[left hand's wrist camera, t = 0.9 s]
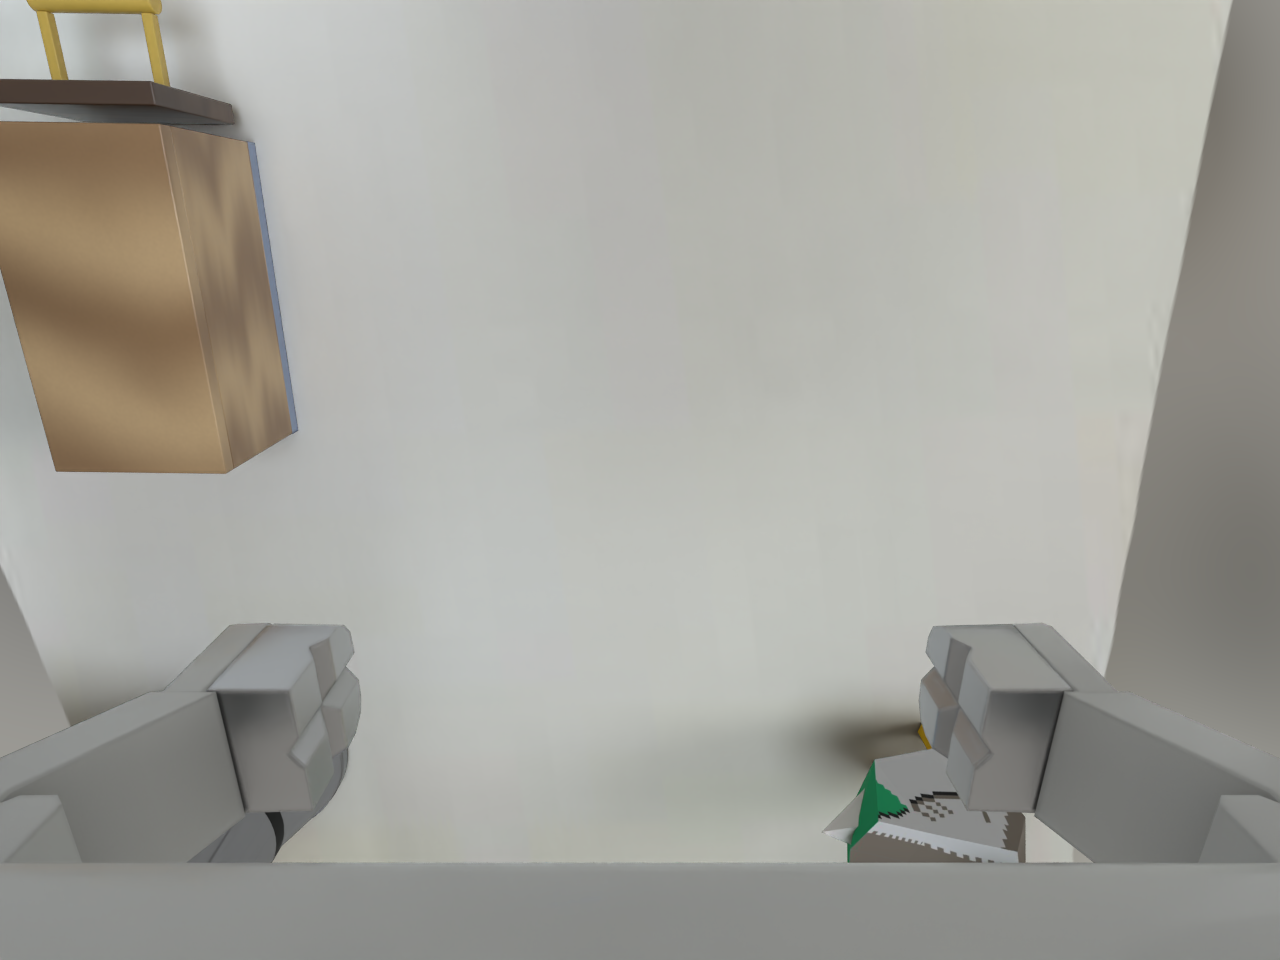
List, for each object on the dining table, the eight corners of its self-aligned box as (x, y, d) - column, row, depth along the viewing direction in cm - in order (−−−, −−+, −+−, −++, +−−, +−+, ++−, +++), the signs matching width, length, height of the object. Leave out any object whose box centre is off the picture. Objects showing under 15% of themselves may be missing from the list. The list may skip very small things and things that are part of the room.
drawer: (63, 7, 45) (-57, -38, 37) (217, 9, 45) (129, -35, 37) (146, 387, 53) (62, 415, 46) (277, 388, 53) (215, 417, 46)
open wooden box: (93, 140, 49) (-42, 120, 39) (254, 142, 49) (159, 123, 39) (156, 428, 55) (55, 472, 46) (298, 430, 55) (226, 474, 46)
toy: (979, 802, 68) (1153, 1101, 45) (772, 753, 66) (844, 1039, 43) (1016, 736, 65) (1221, 1017, 42) (803, 683, 63) (896, 947, 40)
